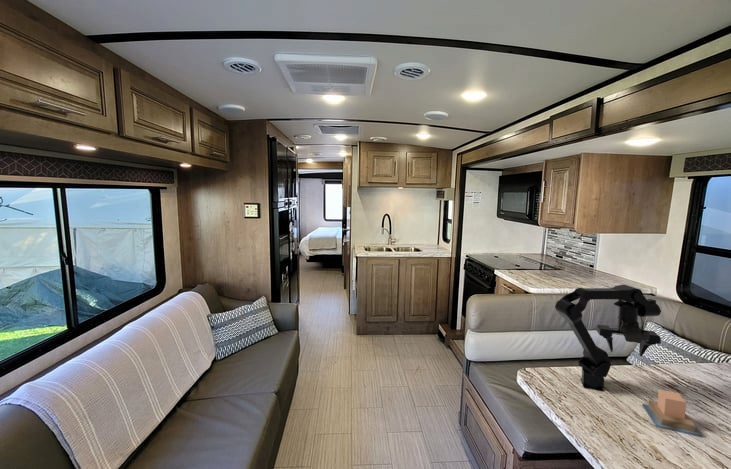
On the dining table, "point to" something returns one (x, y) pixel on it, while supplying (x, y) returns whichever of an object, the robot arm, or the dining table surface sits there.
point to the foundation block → (670, 420)
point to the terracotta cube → (671, 404)
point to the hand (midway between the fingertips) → (625, 353)
